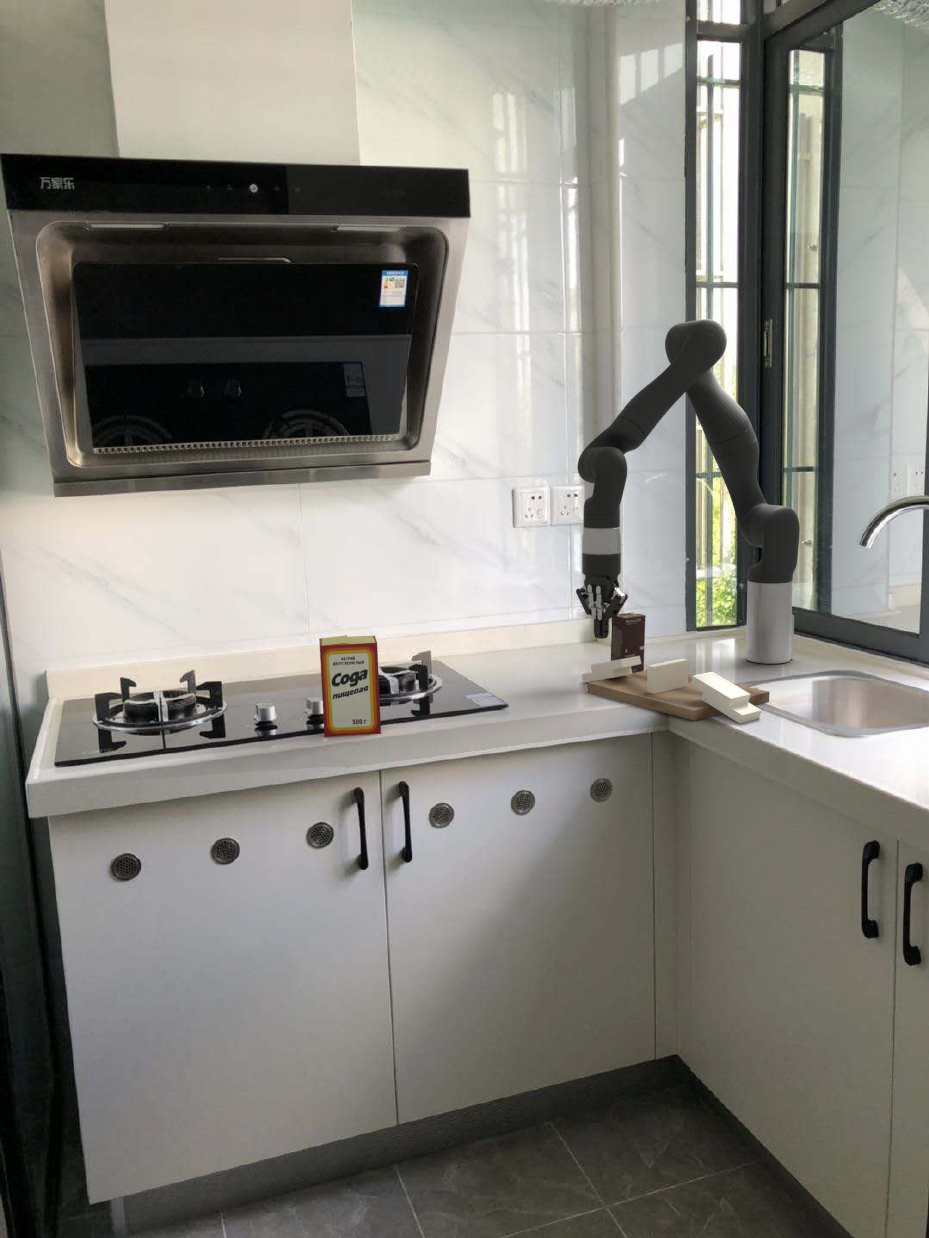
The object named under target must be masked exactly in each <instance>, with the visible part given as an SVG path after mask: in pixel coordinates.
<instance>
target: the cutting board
mask: <svg viewBox="0 0 929 1238" xmlns="http://www.w3.org/2000/svg"><path fill="white" fill-rule="evenodd" d="M694 675H695V674H692V673H688V686H685V687H681V688H677V689H672V690H668V691H663V692H659V693H655V694H653V693H649V692H647V678H648V669H647V670H644V671H638V672H632V674H629V675H624V676H619V677H614V678H608V679H602V680H596V681H590V682H586V684H587V686H586V688H587V693H591V694H594V695H598V696H602V697H606V698H609V699H612V700H617V701H619V702H624V703H628V704H631V705H635V706H637V707H638V706H639V707H641V708H646V709H649V710H653V711H657V712H659V713H664V714H667V715H672V716H674V717H678V718H682V719H687V720H691V721H697V720H702V719H706V718H709V717H712V716H713V717H714V716H717V715H721V714H723V713H722V712H721V711H719V710H717V709H716V708H714V707H712V706H711V705H709V704H708V703H706V702H704V701H703V700H701V698H702V694H703V691H702V690H700V689H698V688H697V687H695V686H694V685H692V684H691V681H692V677H693V676H694ZM731 683H732V682H731ZM732 684H734V685H736V686H738V687H739V688H741V689H743V690H744V691H746V692H748V693H750V698H749V701H748V702H749V703H750V704H752V705H754V706H757V705H761V704H764V703H768V702H770V696H771V695H770V691H768V690H763V689H761V688H760V689H759V688H755V687H749V686H745V685H741V684H737V683H732Z"/></svg>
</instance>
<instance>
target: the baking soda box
mask: <svg viewBox="0 0 929 1238" xmlns="http://www.w3.org/2000/svg"><path fill="white" fill-rule="evenodd" d="M318 640H319V660H320V675H321V677H320V678H321V679H320V680H321V699H322V715H323V716H322V717H323V733H324V734H323V736H324V738H329V737H330V738H334V737H348V736H362V735H377V734H382V725H381V702H380V701H381V700H380V681H379V680H380V675H379V674H380V673H379V657H378V656H379V655H378V651H379V650H378V642H377V638H376V635H360V636H359V635H355V636H354V635H353V636H348V635H339V636H338V635H337V636H330V637H320V638H319V639H318Z"/></svg>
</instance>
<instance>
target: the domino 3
mask: <svg viewBox="0 0 929 1238" xmlns="http://www.w3.org/2000/svg"><path fill="white" fill-rule="evenodd" d="M647 670H648V678H647V692H649V693H653V694H655V693H659V692H663V691H668V690H672V689H677V688H681V687H685V686H688V674H689V659H685V658H677V659H674V660H668V661H663V662H659V663H658V662H657V663H654V664H649V665H647Z"/></svg>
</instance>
